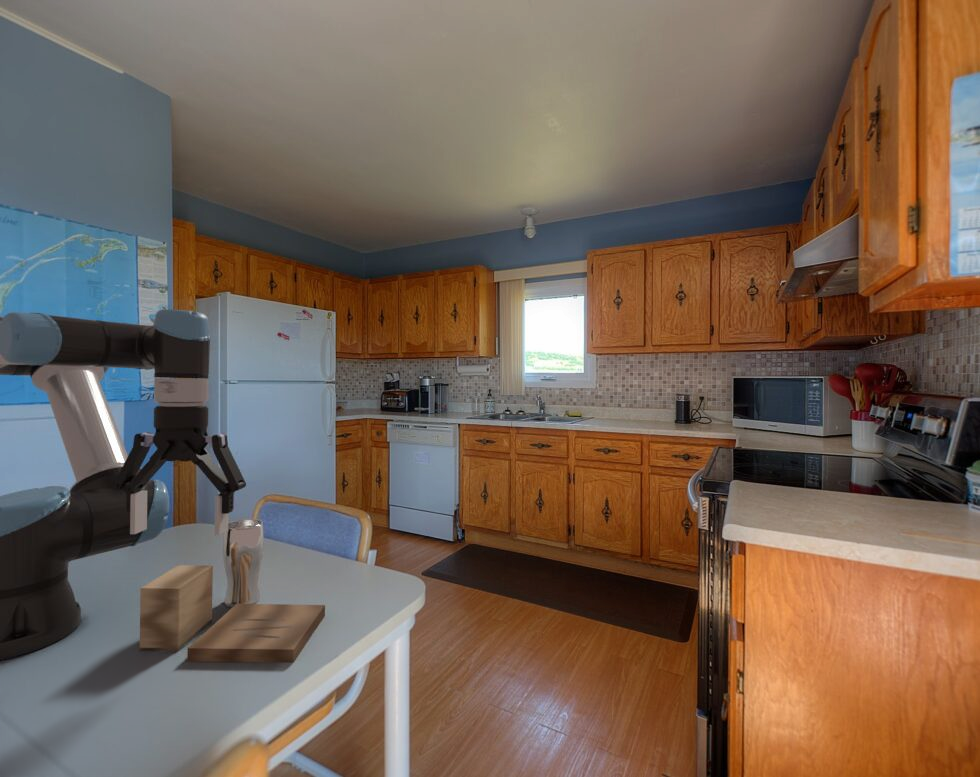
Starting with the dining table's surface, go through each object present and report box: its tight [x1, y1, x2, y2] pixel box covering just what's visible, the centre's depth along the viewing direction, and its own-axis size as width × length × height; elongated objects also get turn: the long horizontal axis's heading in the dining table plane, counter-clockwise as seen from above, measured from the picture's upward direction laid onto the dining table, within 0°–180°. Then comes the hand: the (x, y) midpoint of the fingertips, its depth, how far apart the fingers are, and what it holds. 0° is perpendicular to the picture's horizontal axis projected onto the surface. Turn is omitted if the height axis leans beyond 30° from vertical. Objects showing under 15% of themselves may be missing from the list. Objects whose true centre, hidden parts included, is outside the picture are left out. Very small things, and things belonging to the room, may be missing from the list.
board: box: [186, 603, 326, 664], centre depth 77 cm, size 16×14×2 cm
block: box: [138, 564, 214, 653], centre depth 76 cm, size 6×9×10 cm, turn 1°
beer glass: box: [222, 518, 265, 609], centre depth 89 cm, size 7×7×15 cm
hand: (180, 532), depth 76 cm, fingers open, 13 cm apart
